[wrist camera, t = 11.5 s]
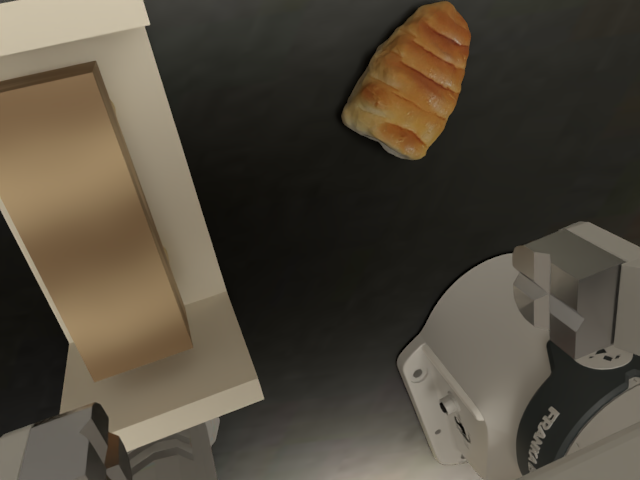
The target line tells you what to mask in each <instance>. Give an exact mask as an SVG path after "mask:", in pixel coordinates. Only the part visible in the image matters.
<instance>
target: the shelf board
mask: <svg viewBox="0 0 640 480" xmlns="http://www.w3.org/2000/svg"><path fill="white" fill-rule="evenodd" d="M0 198H1V199H2V201H3V203H4V205H5V207H6V209H7V211H8V213H9V215H10V217H11V219H12V221H13V223H14V225H15V227H16V229H17V231H18V233H19V235H20V237H21V239H22V241H23V243H24V245H25V247H26V249H27V251H28V253H29V255H30V257H31V259H32V261H33V263H34V265H35V267H36V268H37V270H38V272H39V274H40V276H41V278H42V280H43V282H44V284H45V286H46V288H47V290H48V292H49V294H50V296H51V298H52V300H53V302H54V304H55V306H56V308H57V310H58V312H59V314H60V316H61V318H62V320H63V322H64V324H65V326H66V328H67V330H68V332H69V334H70V336H71V338H72V339H73V341H74V343H75V345H76V347H77V349H78V351H79V353H80V355H81V357H82V359H83V361H84V363H85V365H86V367H87V369H88V371H89V373H90V375H91V377H92V379H93V381H94V382H97V381H100V380H103V379H106V378H109V377H112V376H115V375H117V374H120V373H123V372H126V371H129V370H132V369H135V368H138V367H140V366H143V365H146V364H149V363H152V362H155V361H158V360H160V359H163V358H166V357H169V356H172V355H175V354H178V353H181V352H183V351H186V350H189V349H192V348H193V343H192V339H191V334H190V329H189V324H188V320H187V315H186V310H185V306H184V304H183V301H182V298H181V295H180V292H179V290H178V287H177V284H176V281H175V279H174V276H173V273H172V270H171V267H170V265H169V262H168V259H167V256H166V253H165V251H164V248H163V245H162V242H161V240H160V237H159V234H158V231H157V228H156V226H155V223H154V220H153V217H152V215H151V212H150V209H149V206H148V203H147V201H146V198H145V195H144V192H143V190H142V187H141V184H140V181H139V178H138V176H137V173H136V170H135V167H134V164H133V162H132V159H131V156H130V153H129V151H128V148H127V145H126V142H125V139H124V137H123V134H122V131H121V128H120V126H119V123H118V120H117V117H116V114H115V112H114V109H113V106H112V103H111V101H110V98H109V95H108V92H107V89H106V87H105V84H104V81H103V78H102V76H101V73H100V70H99V67H98V64H97V62H96V61H91V62H87V63H82V64H78V65H73V66H68V67H64V68H59V69H55V70H50V71H45V72H41V73H36V74H32V75H27V76H22V77H18V78H13V79H9V80H4V81H0Z"/></svg>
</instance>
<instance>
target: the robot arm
mask: <svg viewBox="0 0 640 480" xmlns="http://www.w3.org/2000/svg"><path fill="white" fill-rule="evenodd" d="M397 367H398V369H399V372H400V374H401V377H402V379H403V382H404V384H405V387H406V389H407V392H408V394H409V397H410V399H411V402H412V404H413V407H414V409H415V412H416V414H417V417H418V419H419V422H420V424H421V427H422V429H423V432H424V434H425V437H426V439H427V442H428V444H429V447H430V449H431V451H432V454H433V456H434V457H435V458H436V460H437V461H438V462H439V463H440V464H442V465H456V464H463V463H468V462H469V464H470V465H471V466H472V467H473V469H474V470H475V471H476V472H477V474H478V475H479V476H480V477H481V478H482V479H483V480H640V247H639V246H637V245H635V244H632V243H630V242H628V241H626V240H624V239H622V238H620V237H618V236H616V235H614V234H612V233H610V232H608V231H606V230H604V229H602V228H600V227H598V226H596V225H594V224H592V223H590V222H582V221H580V222H577V223H575V224H572V225H570V226H567V227H565V228H562V229H560V230H558V231H557V232H554V233H552V234H549V235H546V236H544V237H541V238H538V239H536V240H533V241H530V242H528V243H525V244H522V245H520V246H517V247H515V249H514V252H513V253H510V254H505V255H501V256H498V257H494V258H492V259H489V260H487V261H485V262H483V263H481V264H479V265H477V266H476V267H474V268H473V269H471V270H470V271H468V272H467V273H465V274H464V275H463V276H462V277H460V278H459V279H458V280H457V281H456V282H455V283H454V284H453V285H452V286H451V287H450V288H449V289H448V290H447V291H446V292H445V294H444V295H443V296H442V297H441V299H440V300H439V301H438V303H437V304H436V306H435V307H434V309H433V311H432V312H431V314H430V316H429V318H428V320H427V322H426V324H425V326H424V327H423V329H422V331H421V332H420V333H419V335H417V336H416V337H415V338H414V339H413V340H412V341H411V342H410V343H409V344H408V345H407V347H406V348H405V349H404V350H403V351H402V352H401V354H400V355H399V357H398V359H397ZM108 429H109V417H108V415H107V414H106V412H105V411H104V409H103V407H102V406H101V404H99V403H97V402H94V403H91V404H88V405H85V406H82V407H79V408H76V409H74V410H71V411H68V412H65V413H62V414H59V415H56V416H53V417H51V418H48V419H45V420H42V421H39V422H36V423H35V424H31V425H28V426H25V427H23V428H20V429H17V430H14V431H12V432H9V433H6V434H4V435H3V436H2V437H1V438H0V480H132V471H131V466H130V461H129V457H128V454H127V452H126V449H125V446H124V444H123V442H122V441H121V439H120V437H119V436H118V435H115V434H113V433H110V432H108Z"/></svg>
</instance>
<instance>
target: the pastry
mask: <svg viewBox="0 0 640 480" xmlns="http://www.w3.org/2000/svg"><path fill="white" fill-rule="evenodd" d="M470 39H471V35H470V31H469V28H468V25H467V23H466V21H465V20H464V19H463V17H462V16H461V15H460V14H459V13H458V12H457V11H456V10H455V7H454V6H453V5H452V4H451V3H449V2H447V1H441V2H436V3H432V4H427V5H423V6H421V7H419V8H418V9H417V10H416V11H415V13H414V14H413V15H412V16H410V17H409V18H408V19H407V20H406V22H405V23H404V24H403V25H401V26H400V27H398V28H397V29H396V30H395V31H394V33H393V34H392V35H391V36H390V37H389V39H387V40H386V41H385V42H384V43H382V44H381V45H379V46H378V48H377V50H376V53H375V54H374V55H373V57H372V58H371V60H370V62H369V65H368V67H367V68H366V70H365V72H364V73H363V75H362V76H361V77H360V79H359V80H358V81H357V83H356V85H355V87H354V89H353V91H352V93H351V95H350V96H349V98H348V101H347V104H346V105H345V107H344V109H343V112H342V115H341V117H342V121H343V123H344V125H346V126H347V127H348V128H350V129H352V130H353V131H355V132H357V133H358V134H360V135H363V136H365V137H368V138H369V139H372V140H375V141H378V142H379V143H380V144H381V145H382V147H383V148H384V149H385V150H386V151H387V152H388V153H391V154H393V155H395V156H396V157H399V158H402V159H409V160H417V159H420V158H422V157H423V156H425V154H426V151H427V149H428V148H429V146H430V145H431V144H432V143H433V142H434V141H435V140H436V139H437V137H438V136H439V135H440V134H441V132H442V131H443V130H444V127H445V124H446V122H447V119H448V117H449V115H450V114H451V113H452V111H453V110H454V107H455V106H456V102H457V99H458V96H459V93H460V90H461V82H462V80H463V77H464V74H465V67H466V61H467V58H468V55H469V44H470Z"/></svg>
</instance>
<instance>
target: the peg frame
mask: <svg viewBox="0 0 640 480" xmlns="http://www.w3.org/2000/svg"><path fill="white" fill-rule="evenodd" d="M147 25H150V22H149V19H148V15H147V12H146V9H145V5H144V2H143V0H17V1H12V2H7V3H2V4H0V81H4V80H9V79H13V78H18V77H22V76H27V75H32V74H36V73H41V72H45V71H50V70H55V69H59V68H64V67H68V66H73V65H78V64H82V63H87V62H91V61H96V62H97V64H98V67H99V70H100V73H101V76H102V78H103V81H104V84H105V87H106V89H107V92H108V95H109V98H110V101H111V103H112V106H113V109H114V112H115V114H116V117H117V120H118V123H119V126H120V128H121V131H122V134H123V137H124V139H125V142H126V145H127V148H128V151H129V153H130V156H131V159H132V162H133V164H134V167H135V170H136V173H137V176H138V178H139V181H140V184H141V187H142V190H143V192H144V195H145V198H146V201H147V203H148V206H149V209H150V212H151V215H152V217H153V220H154V223H155V226H156V228H157V231H158V234H159V237H160V240H161V242H162V245H163V248H164V251H165V253H166V256H167V259H168V262H169V265H170V267H171V270H172V273H173V276H174V279H175V281H176V284H177V287H178V290H179V292H180V295H181V298H182V301H183V304H184V306H185V310H186V315H187V320H188V324H189V329H190V334H191V339H192V343H193V348H192V349H189V350H186V351H183V352H181V353H178V354H175V355H172V356H169V357H166V358H163V359H160V360H158V361H155V362H152V363H149V364H146V365H143V366H140V367H138V368H135V369H132V370H129V371H126V372H123V373H120V374H117V375H115V376H112V377H109V378H106V379H103V380H100V381H97V382H94V381H93V379H92V377H91V375H90V373H89V371H88V369H87V367H86V365H85V363H84V361H83V359H82V357H81V355H80V353H79V351H78V349H77V347H76V345H75V343H74V341H73V339H72V338H71V336H70V334H69V332H68V330H67V328H66V326H65V324H64V322H63V320H62V318H61V316H60V314H59V312H58V310H57V308H56V306H55V304H54V302H53V300H52V298H51V296H50V294H49V292H48V290H47V288H46V286H45V284H44V282H43V280H42V278H41V276H40V274H39V272H38V270H37V268H36V267H35V265H34V263H33V261H32V259H31V257H30V255H29V253H28V251H27V249H26V247H25V245H24V243H23V241H22V239H21V237H20V235H19V233H18V231H17V229H16V227H15V225H14V223H13V221H12V219H11V217H10V215H9V213H8V211H7V209H6V207H5V205H4V203H3V201H2V199H1V198H0V210H1V212H2V214H3V216H4V218H5V220H6V222H7V224H8V226H9V228H10V230H11V231H12V233H13V235H14V237H15V239H16V241H17V243H18V245H19V247H20V249H21V251H22V253H23V255H24V257H25V259H26V260H27V262H28V264H29V266H30V268H31V270H32V272H33V274H34V276H35V278H36V280H37V282H38V284H39V286H40V287H41V289H42V291H43V293H44V295H45V297H46V299H47V301H48V303H49V305H50V307H51V309H52V311H53V313H54V315H55V316H56V318H57V320H58V322H59V324H60V326H61V328H62V330H63V332H64V334H65V336H66V338H67V340H68V342H69V350H68V357H67V364H66V372H65V379H64V386H63V393H62V400H61V408H60V414H62V413H65V412H68V411H71V410H74V409H76V408H79V407H82V406H85V405H88V404H91V403H94V402H97V403H99V404H101V406H102V407H103V409H104V411H105V412H106V414H107V415H108V417H109V429H108V432H110V433H113V434H115V435H118V436H119V437H120V439H121V441H122V442H123V444H124V446H125V449H126V452H128V451H131V450H133V449H136V448H138V447H141V446H144V445H146V444H149V443H151V442H154V441H157V440H159V439H162V438H165V437H167V436H170V435H172V434H175V433H178V432H180V431H183V430H185V429H188V428H191V427H193V426H196V425H198V424H201V423H204V422H206V421H209V420H211V419H214V418H217V417H219V416H222V415H224V414H227V413H230V412H232V411H235V410H237V409H240V408H243V407H245V406H248V405H250V404H253V403H256V402H258V401H261V400H263V399H264V396H263V393H262V390H261V387H260V383H259V380H258V377H257V374H256V371H255V369H254V366H253V363H252V360H251V357H250V355H249V352H248V349H247V346H246V344H245V341H244V338H243V335H242V332H241V330H240V327H239V324H238V321H237V319H236V316H235V313H234V310H233V307H232V305H231V302H230V299H229V296H228V294H227V291H226V287H225V284H224V281H223V278H222V275H221V271H220V268H219V265H218V262H217V258H216V255H215V252H214V249H213V245H212V242H211V239H210V236H209V233H208V229H207V226H206V223H205V220H204V216H203V213H202V210H201V207H200V204H199V200H198V197H197V194H196V191H195V187H194V184H193V181H192V178H191V174H190V171H189V168H188V165H187V162H186V158H185V155H184V152H183V149H182V145H181V142H180V139H179V136H178V132H177V129H176V126H175V123H174V120H173V116H172V113H171V110H170V107H169V103H168V100H167V97H166V94H165V91H164V87H163V84H162V81H161V78H160V74H159V71H158V68H157V65H156V61H155V58H154V55H153V52H152V49H151V45H150V42H149V39H148V36H147V32H146V29H145V26H147Z"/></svg>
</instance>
